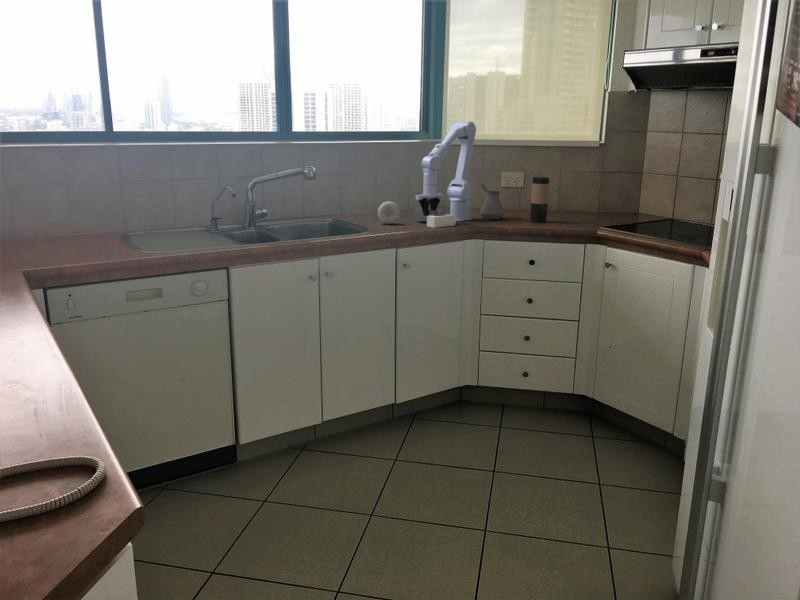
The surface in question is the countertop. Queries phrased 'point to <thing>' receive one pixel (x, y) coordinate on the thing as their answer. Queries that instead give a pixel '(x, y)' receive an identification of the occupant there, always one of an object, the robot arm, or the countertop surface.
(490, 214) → the coffee pot
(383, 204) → the donut
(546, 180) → the travel mug
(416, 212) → the rail
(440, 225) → the cream u-shaped cradle
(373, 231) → the countertop surface
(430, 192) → the robot arm
